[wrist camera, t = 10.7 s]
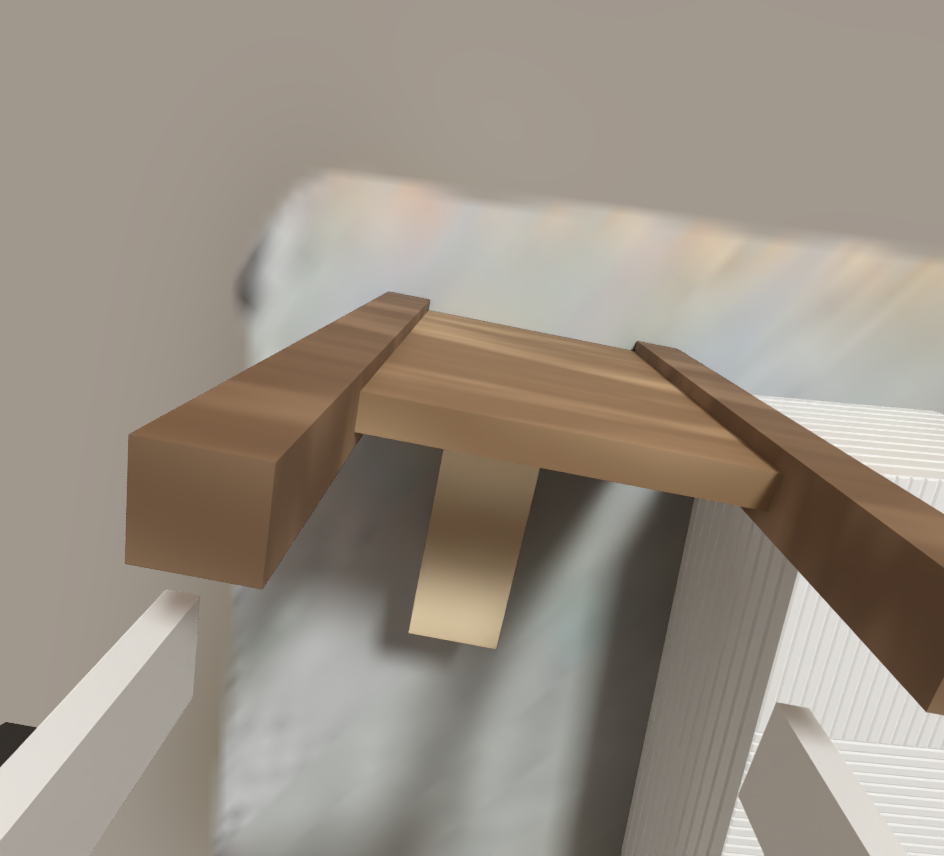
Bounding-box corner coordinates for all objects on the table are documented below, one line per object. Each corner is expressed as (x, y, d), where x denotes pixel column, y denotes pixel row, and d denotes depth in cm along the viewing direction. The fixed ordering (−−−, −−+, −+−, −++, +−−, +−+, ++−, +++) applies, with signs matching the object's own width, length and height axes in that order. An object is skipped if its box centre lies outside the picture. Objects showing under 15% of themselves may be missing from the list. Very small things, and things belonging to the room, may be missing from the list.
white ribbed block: (714, 390, 31) (826, 469, 20) (932, 409, 31) (1155, 498, 20) (615, 873, 40) (657, 1093, 30) (781, 889, 40) (880, 1114, 30)
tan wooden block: (495, 578, 34) (496, 649, 28) (422, 565, 34) (408, 633, 28) (545, 364, 30) (557, 395, 25) (464, 348, 30) (457, 375, 24)
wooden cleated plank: (656, 423, 31) (1001, 825, 10) (377, 369, 31) (122, 666, 10) (678, 348, 30) (1120, 623, 9) (388, 291, 29) (128, 434, 8)
